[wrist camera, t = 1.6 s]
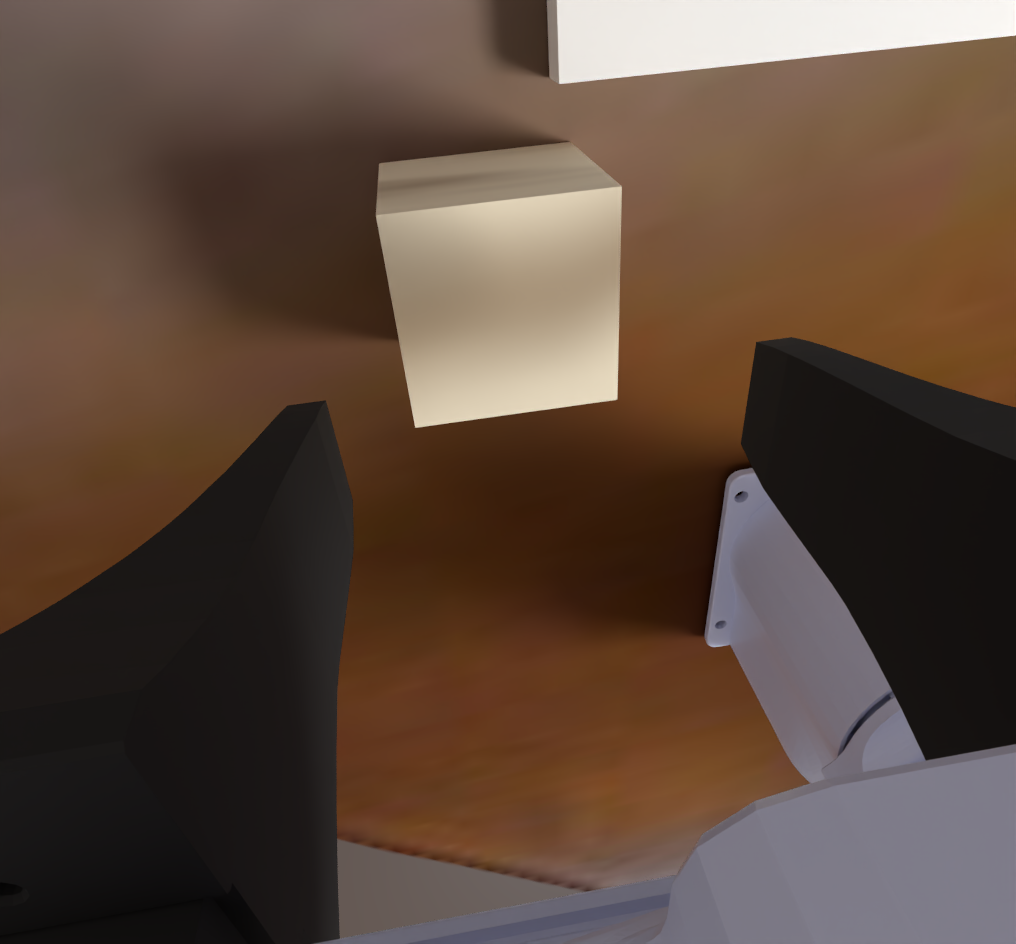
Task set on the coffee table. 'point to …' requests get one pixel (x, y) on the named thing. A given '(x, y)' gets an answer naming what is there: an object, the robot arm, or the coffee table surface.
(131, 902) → the robot arm
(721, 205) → the coffee table surface
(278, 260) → the coffee table surface
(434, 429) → the coffee table surface
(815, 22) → the plinth base
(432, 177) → the birch cube
